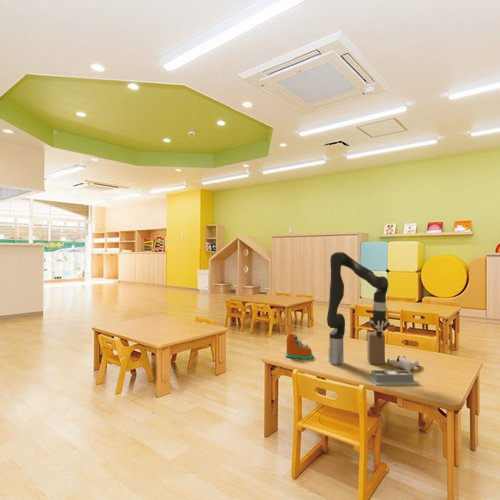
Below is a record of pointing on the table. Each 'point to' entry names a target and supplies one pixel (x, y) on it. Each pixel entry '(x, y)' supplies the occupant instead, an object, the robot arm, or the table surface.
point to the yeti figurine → (403, 363)
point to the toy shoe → (297, 348)
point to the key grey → (391, 372)
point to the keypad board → (391, 378)
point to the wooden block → (375, 349)
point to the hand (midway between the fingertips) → (379, 337)
